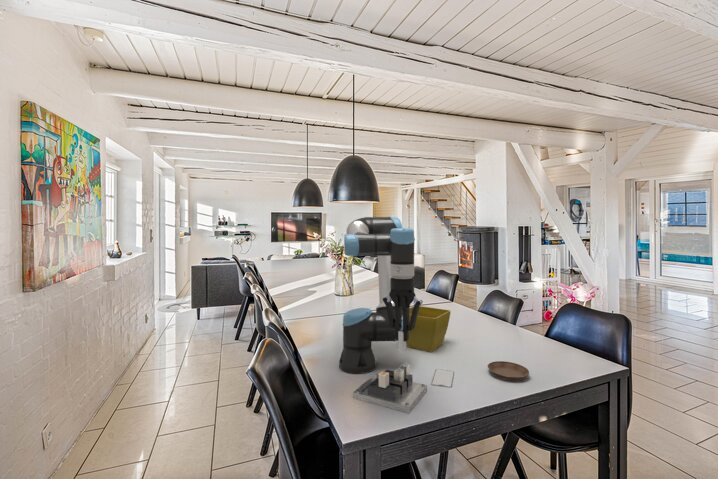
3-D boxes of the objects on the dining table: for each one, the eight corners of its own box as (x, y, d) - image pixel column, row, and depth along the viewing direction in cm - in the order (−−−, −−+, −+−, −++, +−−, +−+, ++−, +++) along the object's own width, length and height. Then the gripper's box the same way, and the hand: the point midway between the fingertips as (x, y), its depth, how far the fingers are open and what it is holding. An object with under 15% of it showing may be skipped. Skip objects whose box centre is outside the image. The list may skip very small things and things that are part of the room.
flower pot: (415, 337, 185) (415, 304, 184) (451, 344, 174) (451, 309, 173) (397, 347, 170) (397, 312, 169) (435, 356, 159) (435, 318, 158)
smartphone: (454, 371, 142) (451, 387, 128) (454, 372, 142) (451, 389, 128) (435, 368, 144) (430, 384, 130) (435, 370, 144) (430, 386, 130)
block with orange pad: (378, 386, 118) (378, 374, 117) (382, 383, 120) (382, 370, 120) (385, 388, 116) (385, 375, 116) (389, 384, 119) (389, 372, 119)
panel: (353, 398, 121) (353, 371, 120) (375, 378, 136) (375, 355, 135) (409, 413, 111) (409, 384, 111) (426, 390, 126) (427, 365, 125)
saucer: (538, 380, 134) (538, 373, 134) (504, 386, 130) (504, 378, 130) (510, 365, 148) (510, 359, 148) (479, 370, 144) (479, 363, 144)
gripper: (378, 277, 113) (378, 350, 114) (417, 280, 107) (417, 358, 108) (388, 274, 120) (388, 343, 121) (426, 276, 113) (425, 350, 114)
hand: (402, 350), depth 114 cm, fingers closed
